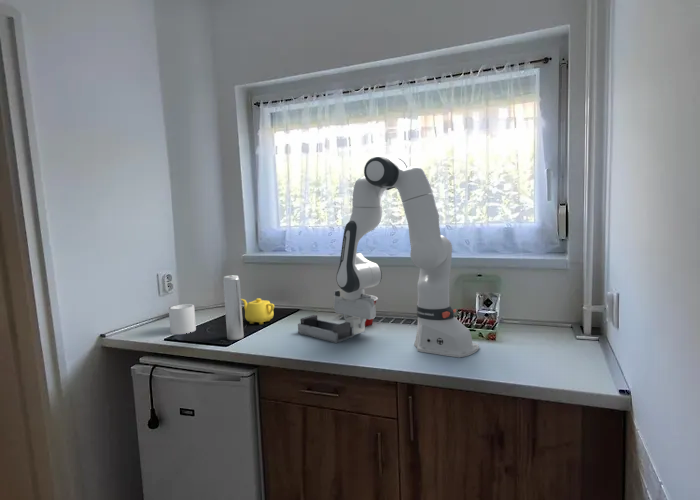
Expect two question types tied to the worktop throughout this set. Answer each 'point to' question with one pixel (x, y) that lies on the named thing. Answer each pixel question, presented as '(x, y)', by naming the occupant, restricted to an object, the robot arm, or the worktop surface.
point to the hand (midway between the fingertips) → (355, 326)
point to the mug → (182, 319)
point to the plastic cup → (369, 322)
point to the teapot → (258, 311)
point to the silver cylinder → (233, 307)
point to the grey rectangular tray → (325, 329)
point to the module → (355, 324)
